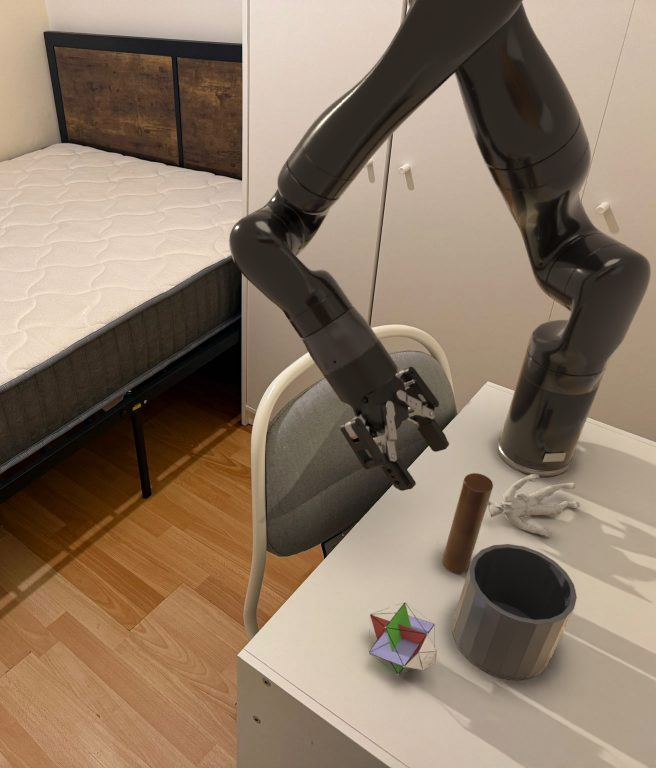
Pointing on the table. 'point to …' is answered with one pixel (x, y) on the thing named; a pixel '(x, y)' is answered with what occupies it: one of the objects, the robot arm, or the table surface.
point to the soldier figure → (529, 504)
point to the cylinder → (467, 522)
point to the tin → (512, 611)
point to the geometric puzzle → (404, 640)
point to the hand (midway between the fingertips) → (425, 467)
